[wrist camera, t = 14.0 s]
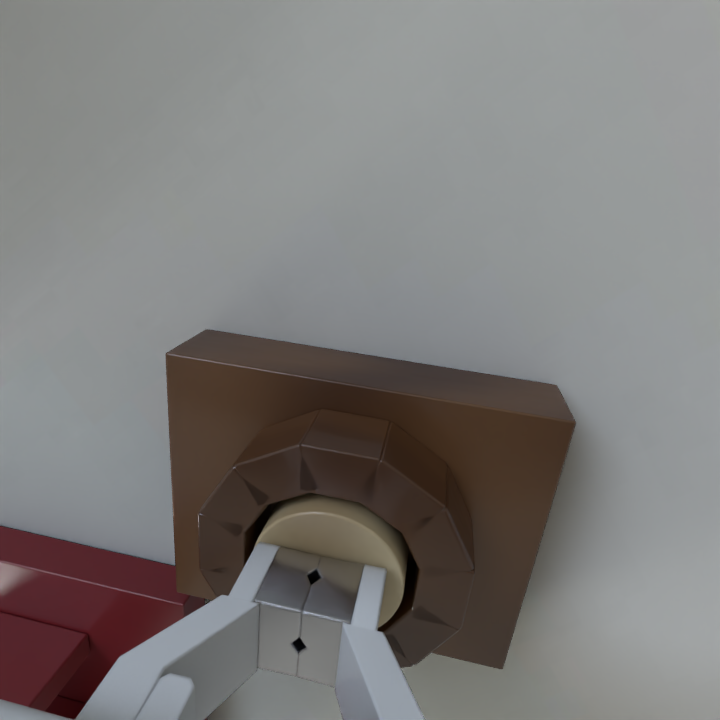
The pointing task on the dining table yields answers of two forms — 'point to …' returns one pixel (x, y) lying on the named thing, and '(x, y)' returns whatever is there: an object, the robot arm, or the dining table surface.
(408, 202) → the dining table surface
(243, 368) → the control block
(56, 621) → the bracket
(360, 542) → the button
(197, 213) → the dining table surface
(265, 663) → the robot arm
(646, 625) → the dining table surface
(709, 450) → the dining table surface
